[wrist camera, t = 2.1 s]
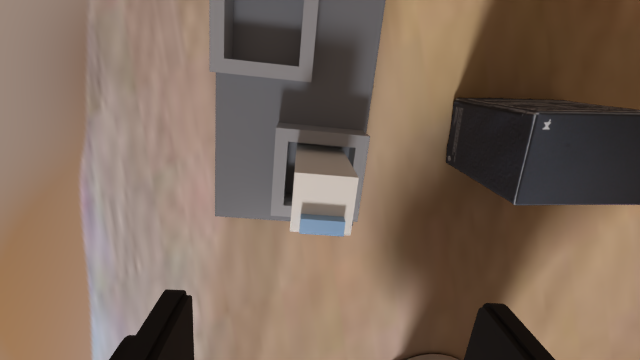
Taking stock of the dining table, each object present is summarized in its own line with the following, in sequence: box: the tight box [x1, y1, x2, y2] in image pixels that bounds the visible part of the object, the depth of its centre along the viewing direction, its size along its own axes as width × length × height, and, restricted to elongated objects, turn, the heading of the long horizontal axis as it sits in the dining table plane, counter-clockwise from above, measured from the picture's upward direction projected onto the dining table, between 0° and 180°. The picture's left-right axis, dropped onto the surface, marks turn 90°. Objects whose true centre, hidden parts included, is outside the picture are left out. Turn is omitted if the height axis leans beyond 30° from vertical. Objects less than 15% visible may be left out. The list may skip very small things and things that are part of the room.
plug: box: [290, 144, 359, 236], centre depth 24 cm, size 4×4×10 cm
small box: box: [446, 98, 640, 205], centre depth 25 cm, size 11×6×10 cm, turn 89°
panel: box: [210, 0, 385, 226], centre depth 26 cm, size 13×22×4 cm, turn 174°
